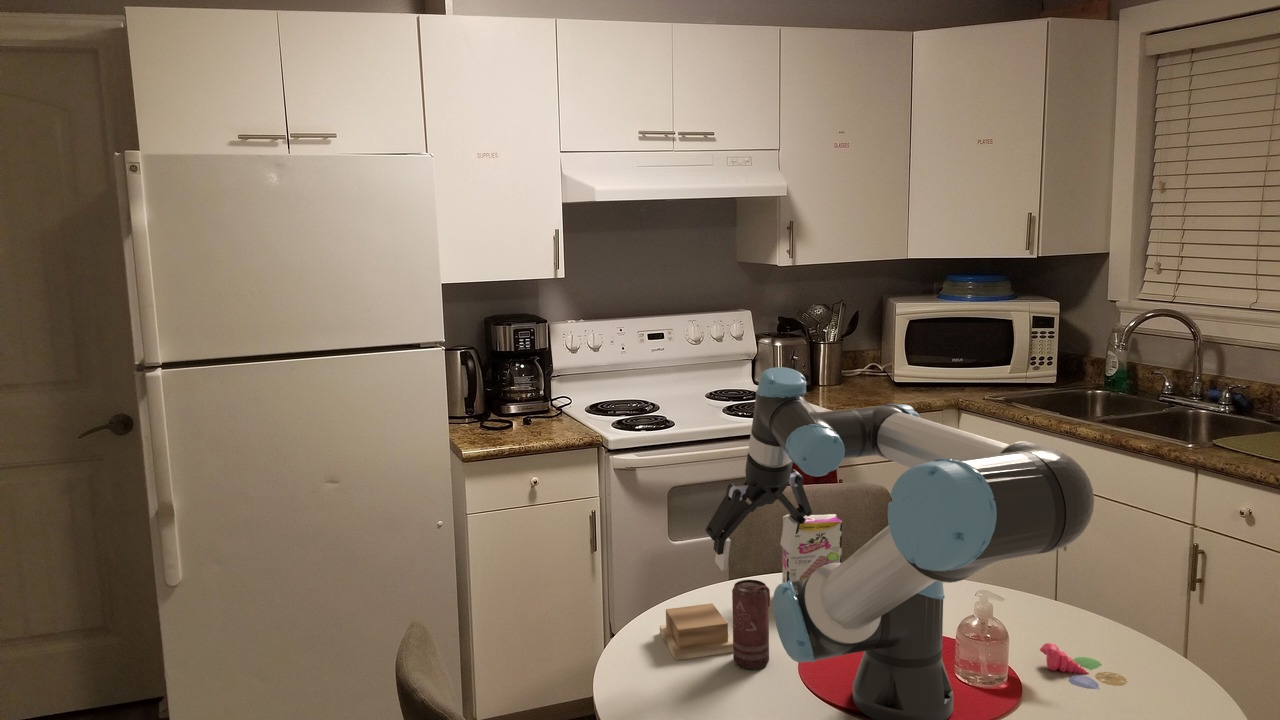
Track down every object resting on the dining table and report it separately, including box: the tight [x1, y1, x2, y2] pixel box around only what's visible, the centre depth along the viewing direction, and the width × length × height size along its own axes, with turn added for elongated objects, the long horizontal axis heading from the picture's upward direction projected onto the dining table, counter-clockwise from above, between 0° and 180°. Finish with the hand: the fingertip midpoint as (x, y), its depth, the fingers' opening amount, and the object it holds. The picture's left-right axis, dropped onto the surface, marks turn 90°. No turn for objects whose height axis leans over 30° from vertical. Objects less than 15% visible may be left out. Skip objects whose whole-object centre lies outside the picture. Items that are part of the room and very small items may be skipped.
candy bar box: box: [781, 513, 843, 584], centre depth 184 cm, size 11×5×16 cm, turn 94°
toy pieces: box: [1039, 642, 1128, 691], centre depth 151 cm, size 12×11×4 cm
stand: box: [659, 603, 733, 661], centre depth 166 cm, size 11×11×5 cm
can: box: [731, 579, 771, 671], centre depth 157 cm, size 6×6×14 cm
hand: (753, 557), depth 161 cm, fingers open, 13 cm apart
